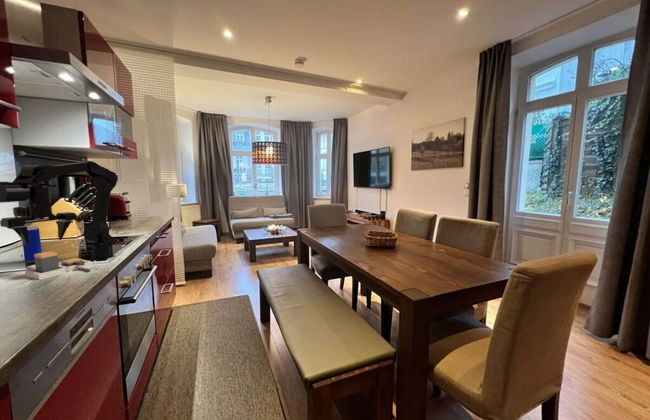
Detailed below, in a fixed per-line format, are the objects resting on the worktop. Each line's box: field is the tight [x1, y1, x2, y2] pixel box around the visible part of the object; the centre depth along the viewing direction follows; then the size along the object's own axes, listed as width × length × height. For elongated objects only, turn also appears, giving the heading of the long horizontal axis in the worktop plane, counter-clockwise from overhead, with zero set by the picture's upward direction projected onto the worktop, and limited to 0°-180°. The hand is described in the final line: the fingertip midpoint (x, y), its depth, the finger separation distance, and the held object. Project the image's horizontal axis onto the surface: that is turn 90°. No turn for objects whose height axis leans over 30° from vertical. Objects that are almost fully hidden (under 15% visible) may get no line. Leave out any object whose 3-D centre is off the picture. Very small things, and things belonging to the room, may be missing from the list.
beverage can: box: [21, 225, 43, 263], centre depth 114 cm, size 5×5×15 cm
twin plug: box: [60, 257, 91, 273], centre depth 105 cm, size 4×12×4 cm, turn 69°
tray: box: [26, 259, 62, 270], centre depth 107 cm, size 9×9×1 cm
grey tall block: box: [34, 251, 59, 273], centre depth 99 cm, size 4×4×8 cm
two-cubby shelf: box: [24, 259, 93, 280], centre depth 103 cm, size 16×9×2 cm, turn 160°
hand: (44, 242), depth 98 cm, fingers open, 9 cm apart
